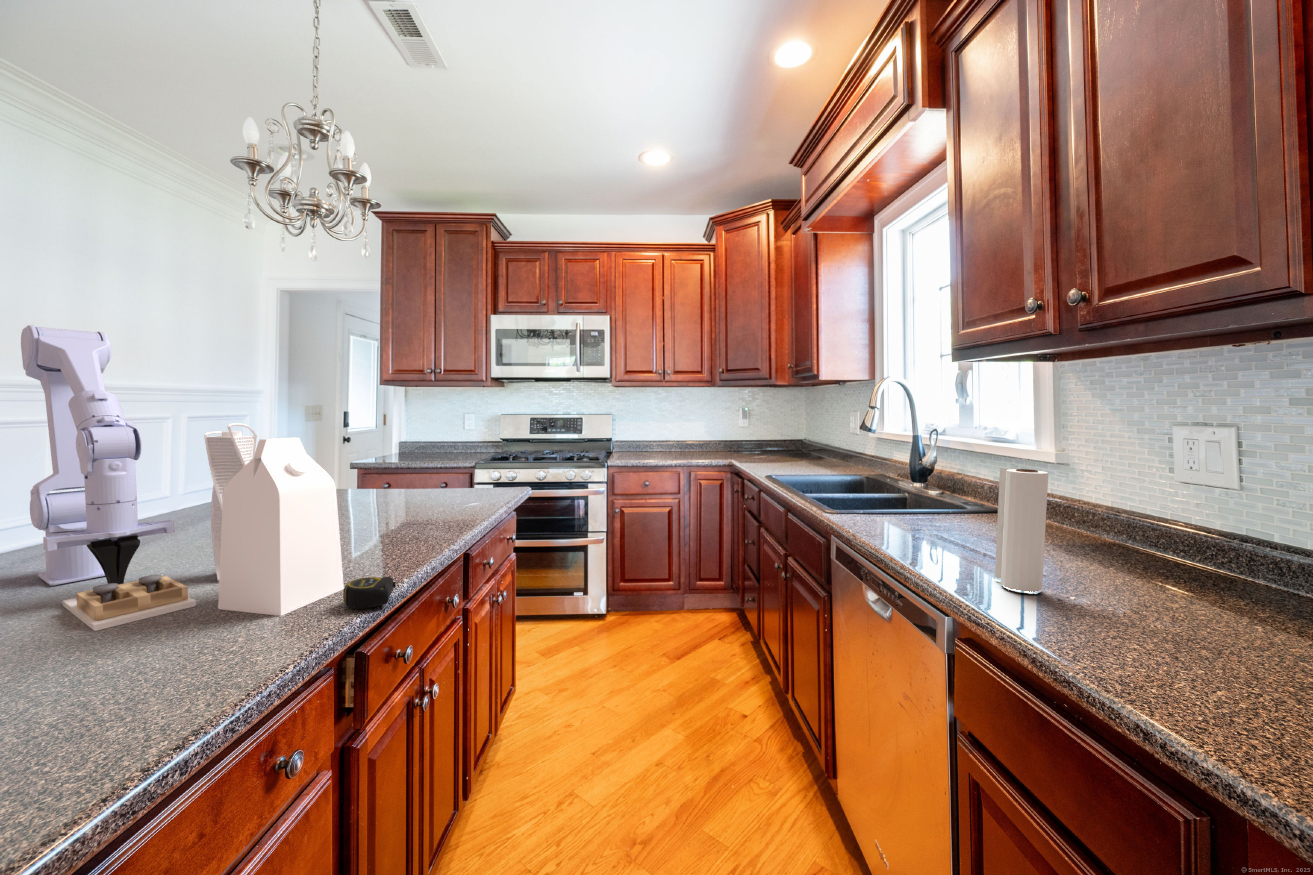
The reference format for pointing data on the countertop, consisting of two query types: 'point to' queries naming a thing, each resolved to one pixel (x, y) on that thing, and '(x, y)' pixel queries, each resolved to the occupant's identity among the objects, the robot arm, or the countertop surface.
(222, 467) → the skyscraper
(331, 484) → the milk
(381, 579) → the tape measure
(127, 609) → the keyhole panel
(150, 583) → the mounting plate
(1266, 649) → the countertop surface
